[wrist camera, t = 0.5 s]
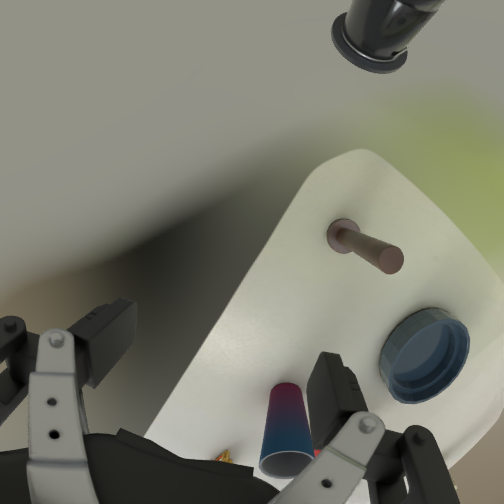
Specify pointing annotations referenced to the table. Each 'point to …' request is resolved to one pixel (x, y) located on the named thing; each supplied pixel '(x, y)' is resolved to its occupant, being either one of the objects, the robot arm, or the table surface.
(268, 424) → the cup
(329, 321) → the table surface
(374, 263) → the stirrer
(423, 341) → the bowl
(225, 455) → the cake slice
